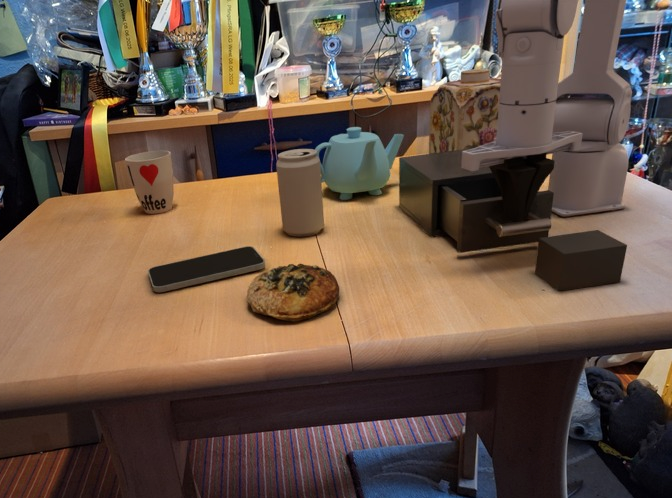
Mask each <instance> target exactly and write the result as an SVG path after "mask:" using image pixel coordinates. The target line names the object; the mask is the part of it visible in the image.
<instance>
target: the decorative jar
mask: <svg viewBox="0 0 672 498" xmlns="http://www.w3.org/2000/svg"><path fill="white" fill-rule="evenodd" d="M500 83H501V78H498V77H497V78H496V77H494V78H493V77H490V69H488V68H476V69H475V68H474V69H464V70H461V72H460V79H458V80H453V81H452V80H451V81H448V82H444V83H443V84H440V85H439V86H438V87H437V89H436V90H435V92H434V93H433V94H432V96H431V97H430V107H429V129H428V130H429V131H428V132H429V133H428V154H431V153H439V152H447V151H454V150H462V149H470V148H476V147H479V146H482V145H485V144H488V143H491V142H493V141H494V138H496V137H497V124H498V110H499V97H500Z"/></svg>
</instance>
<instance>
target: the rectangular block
mask: <svg viewBox="0 0 672 498" xmlns="http://www.w3.org/2000/svg"><path fill="white" fill-rule="evenodd" d="M537 243H538V244H537V253H536V258H535V259H536V260H535V268H534V274H536V275H537V276H538V277H540V278H541V279H542V280H543V281H545V282H546V283H547V284H549V285H550V286H551V287H553V288H554V289H556V290H557V291H558V292H560V291H569V290H577V289H581V288H582V289H583V288H588V287H590V288H591V287H598V286H604V285H609V284H618V283H621V280H622V275H623V268H624V264H625V258H626V253H627V248H628V244H626V243H624V242H622V241H620V240H618V239H617V238H615V237H612V236H611V235H609V234H607V233H605V232H603V231H601V230H599V229H596V230H595V229H594V230H588V231H580V232H572V233H565V234H558V235H552V236H548V237H543V238H539V242H537Z"/></svg>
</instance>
